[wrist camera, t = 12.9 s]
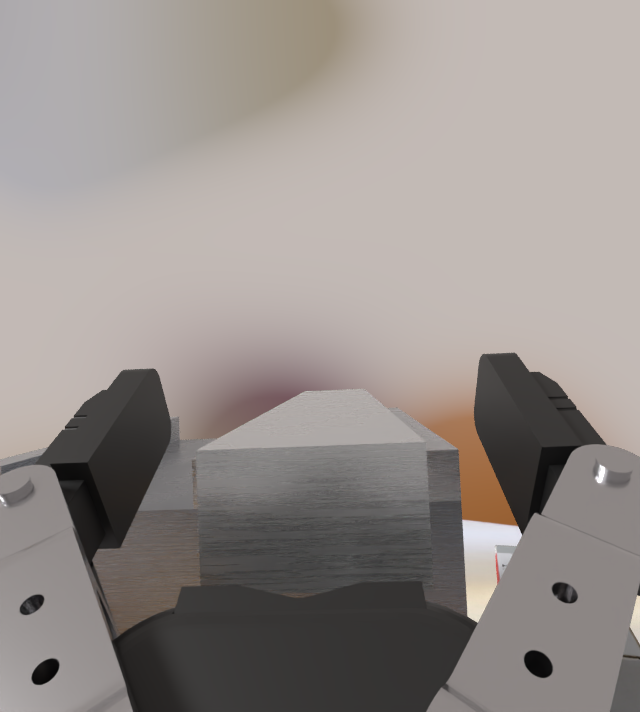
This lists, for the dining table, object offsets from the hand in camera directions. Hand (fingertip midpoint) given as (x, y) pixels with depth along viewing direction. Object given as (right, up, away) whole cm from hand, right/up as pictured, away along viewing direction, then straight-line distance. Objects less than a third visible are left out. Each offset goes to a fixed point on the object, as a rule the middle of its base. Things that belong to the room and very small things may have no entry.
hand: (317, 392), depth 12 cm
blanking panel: (+1, -3, +8) cm, 9 cm away
